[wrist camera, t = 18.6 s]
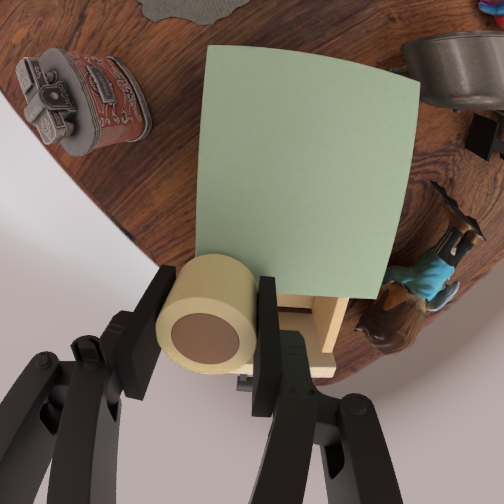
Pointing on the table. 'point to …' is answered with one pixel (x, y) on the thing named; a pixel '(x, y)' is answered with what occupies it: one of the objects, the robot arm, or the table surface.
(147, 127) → the lighter
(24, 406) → the robot arm
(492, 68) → the alarm clock
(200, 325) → the tape
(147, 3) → the grey stone sculpture
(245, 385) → the drawer
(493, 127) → the surveillance camera
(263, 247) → the cabinet
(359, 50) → the table surface
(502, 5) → the anatomical model
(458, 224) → the figurine
